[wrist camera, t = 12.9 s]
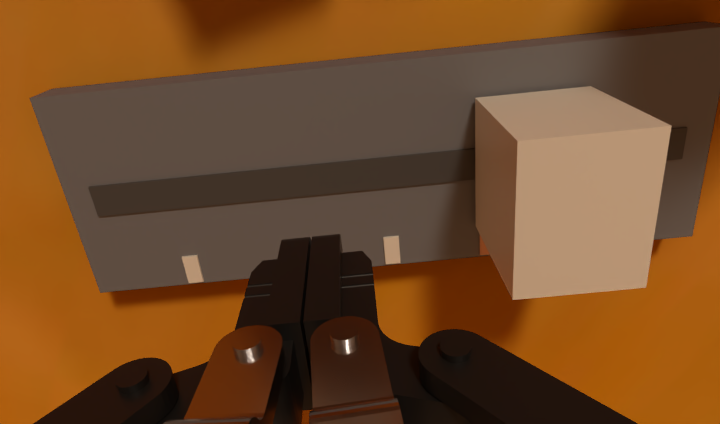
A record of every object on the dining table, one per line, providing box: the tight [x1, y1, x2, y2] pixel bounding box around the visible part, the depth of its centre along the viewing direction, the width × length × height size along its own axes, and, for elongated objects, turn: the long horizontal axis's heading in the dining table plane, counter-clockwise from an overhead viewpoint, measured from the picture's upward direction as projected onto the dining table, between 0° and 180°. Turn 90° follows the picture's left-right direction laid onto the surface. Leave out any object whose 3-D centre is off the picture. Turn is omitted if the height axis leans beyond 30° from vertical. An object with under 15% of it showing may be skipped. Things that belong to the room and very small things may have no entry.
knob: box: [475, 86, 672, 300], centre depth 17 cm, size 4×5×5 cm
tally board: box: [30, 22, 720, 293], centre depth 20 cm, size 24×8×2 cm, turn 96°
